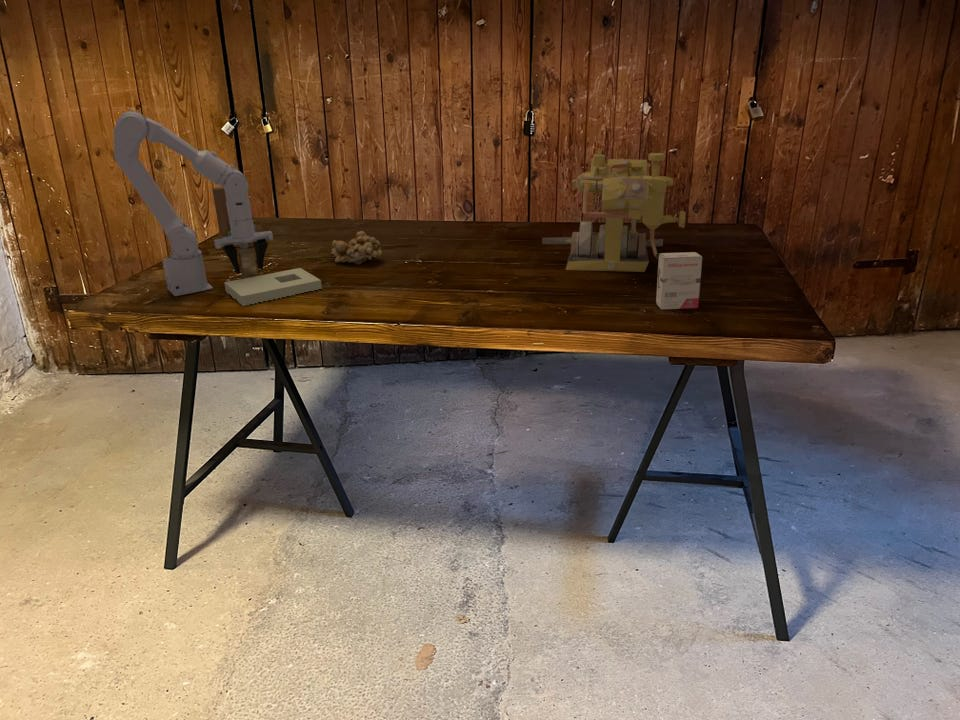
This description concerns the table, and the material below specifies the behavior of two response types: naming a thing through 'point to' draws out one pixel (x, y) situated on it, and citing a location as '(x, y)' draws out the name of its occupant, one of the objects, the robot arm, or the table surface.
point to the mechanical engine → (619, 215)
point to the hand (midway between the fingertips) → (249, 270)
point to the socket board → (272, 286)
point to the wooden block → (223, 213)
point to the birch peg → (248, 263)
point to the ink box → (678, 280)
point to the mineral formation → (357, 249)
